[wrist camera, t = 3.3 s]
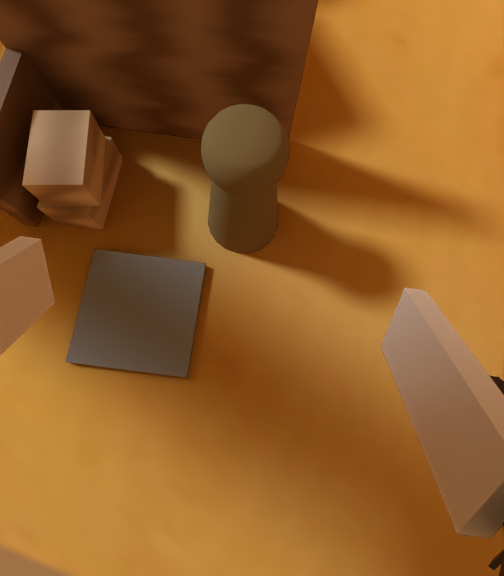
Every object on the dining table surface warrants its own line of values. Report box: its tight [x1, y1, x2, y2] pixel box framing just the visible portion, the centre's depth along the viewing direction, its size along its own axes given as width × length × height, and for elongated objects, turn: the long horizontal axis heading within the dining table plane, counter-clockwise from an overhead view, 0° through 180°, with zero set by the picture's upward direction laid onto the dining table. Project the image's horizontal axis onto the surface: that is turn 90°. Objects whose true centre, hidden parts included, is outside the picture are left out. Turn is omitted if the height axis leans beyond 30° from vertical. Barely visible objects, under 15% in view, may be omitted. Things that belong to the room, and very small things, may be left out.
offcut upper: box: [22, 110, 106, 206], centre depth 25 cm, size 4×6×3 cm, turn 2°
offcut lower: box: [37, 136, 123, 230], centre depth 28 cm, size 4×7×3 cm, turn 172°
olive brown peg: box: [201, 104, 289, 253], centre depth 24 cm, size 6×6×11 cm
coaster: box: [66, 249, 206, 378], centre depth 26 cm, size 9×9×1 cm
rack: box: [0, 0, 318, 226], centre depth 22 cm, size 21×12×16 cm, turn 83°
